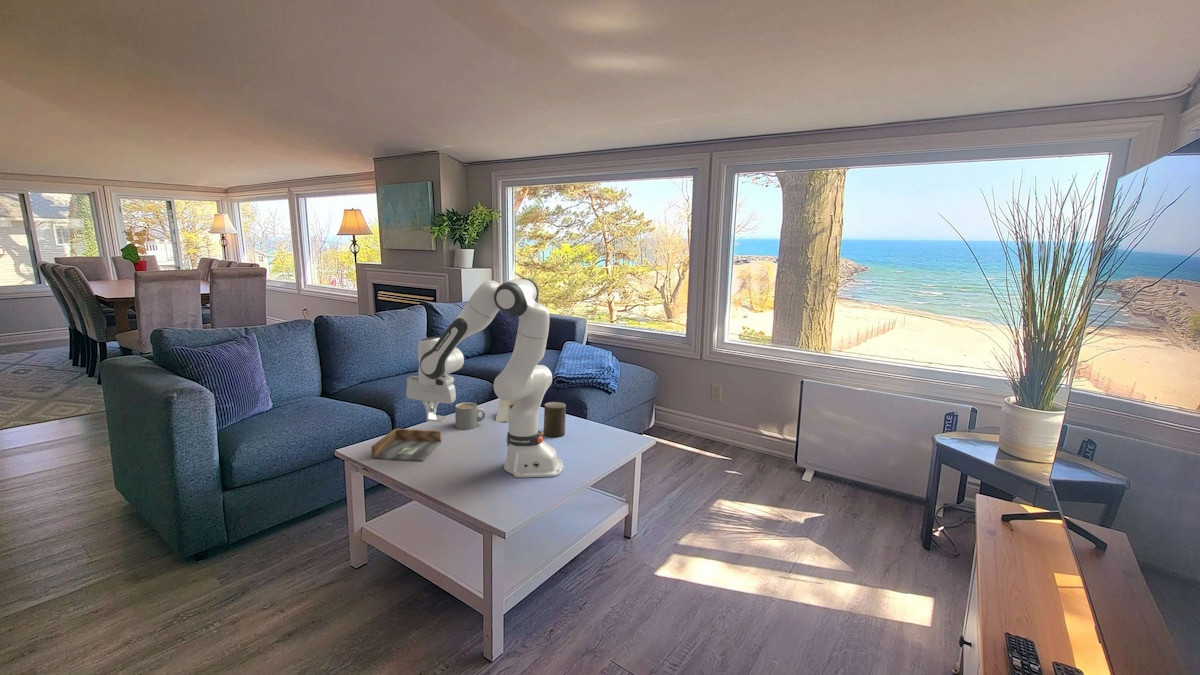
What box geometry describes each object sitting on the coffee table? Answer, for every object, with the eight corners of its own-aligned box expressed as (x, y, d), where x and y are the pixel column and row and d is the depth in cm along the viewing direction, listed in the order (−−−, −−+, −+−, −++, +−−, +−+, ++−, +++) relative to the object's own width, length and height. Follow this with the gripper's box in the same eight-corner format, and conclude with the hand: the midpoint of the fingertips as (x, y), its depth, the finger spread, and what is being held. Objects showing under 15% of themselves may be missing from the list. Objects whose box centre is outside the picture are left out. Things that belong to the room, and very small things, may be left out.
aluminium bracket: (426, 420, 197) (426, 403, 195) (433, 416, 201) (433, 400, 200) (442, 423, 195) (442, 405, 194) (449, 419, 200) (449, 402, 199)
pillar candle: (556, 439, 221) (557, 406, 219) (539, 434, 226) (540, 402, 224) (569, 433, 229) (570, 401, 227) (552, 428, 234) (553, 397, 232)
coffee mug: (453, 429, 228) (453, 408, 226) (458, 422, 238) (457, 402, 236) (483, 430, 229) (483, 409, 227) (486, 422, 239) (486, 402, 237)
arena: (441, 442, 213) (441, 430, 212) (422, 461, 193) (422, 449, 192) (395, 439, 214) (395, 428, 213) (372, 458, 194) (371, 446, 193)
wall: (532, 427, 246) (532, 401, 256) (529, 418, 239) (529, 392, 249) (499, 431, 247) (500, 405, 256) (495, 422, 240) (496, 396, 249)
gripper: (402, 376, 195) (403, 410, 198) (449, 382, 191) (449, 417, 193) (412, 373, 201) (412, 406, 204) (457, 378, 197) (458, 412, 199)
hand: (431, 411), depth 198 cm, fingers closed on aluminium bracket
